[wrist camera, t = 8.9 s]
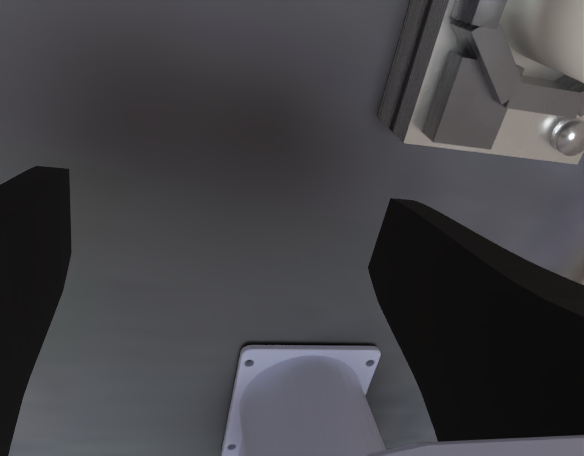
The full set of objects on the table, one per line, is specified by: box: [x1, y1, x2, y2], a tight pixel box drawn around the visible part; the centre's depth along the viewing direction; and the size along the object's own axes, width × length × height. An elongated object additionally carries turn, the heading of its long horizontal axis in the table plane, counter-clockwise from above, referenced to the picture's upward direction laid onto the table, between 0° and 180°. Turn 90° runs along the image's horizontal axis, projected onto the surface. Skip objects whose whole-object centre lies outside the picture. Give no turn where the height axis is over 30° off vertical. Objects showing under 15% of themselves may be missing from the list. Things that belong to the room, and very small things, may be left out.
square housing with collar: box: [378, 0, 584, 164], centre depth 18 cm, size 10×8×4 cm
